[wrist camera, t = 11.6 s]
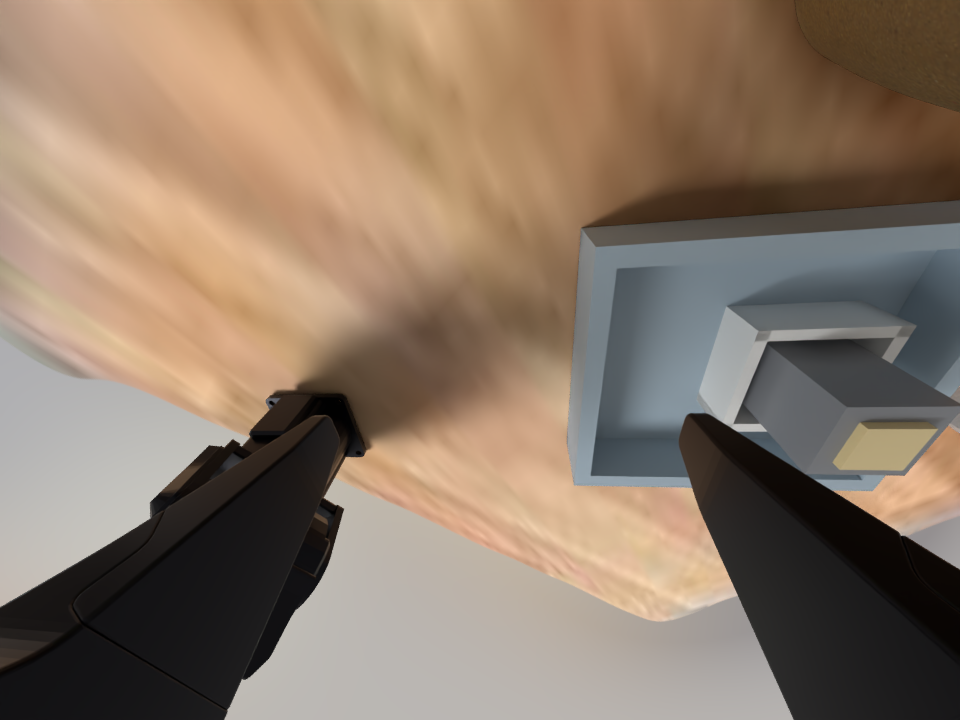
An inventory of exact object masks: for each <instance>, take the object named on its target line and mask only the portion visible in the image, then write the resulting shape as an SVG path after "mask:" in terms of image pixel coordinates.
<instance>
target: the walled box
mask: <svg viewBox="0 0 960 720" xmlns="http://www.w3.org/2000/svg"><path fill="white" fill-rule="evenodd" d="M837 301H864V302H866V303H868V304H870V305H872V306H875V307H877V308H879V309H881V310H884V311H886V312H888V313H890V314H892V315H895V316H897V317H899V318H901V319H904V320H906V321H908V322H910V323H912V324H915V325H917V326H916V328H915V329H914V331H913V332H912V334H911V335H910V337H909V339H908V340H907V342H906V343H905V345H904V346H903V348H902V349H901V351H900V352H899V354H898V355H897V357H896V358H895V360H894V361H893V363H892V364H893V365H895V366H896V367H898V368H900V369H902V370H903V371H905V372H907V373H908V374H910V375H912V376H914V377H915V378H917V379H919V380H921V381H922V382H924V383H926V384H927V385H929V386H931V387H933V388H934V389H936V390H938V391H939V392H941V393H943V394H945V395H946V396H948V397H951V396H952V395H953V393H954V392H955V391H956V390H957V389H958V387H959V386H960V200H957V201H943V202H929V203H916V204H902V205H888V206H875V207H861V208H847V209H834V210H820V211H806V212H793V213H779V214H766V215H752V216H738V217H725V218H711V219H697V220H684V221H670V222H656V223H643V224H629V225H615V226H602V227H588V228H581V236H580V251H579V267H578V282H577V297H576V312H575V327H574V342H573V357H572V372H571V387H570V402H569V417H568V432H567V446H568V452H569V458H570V464H571V470H572V476H573V481H574V485H582V486H634V487H686V488H692V486H691V483H690V479H689V476H688V473H687V470H686V467H685V464H684V461H683V458H682V455H681V451H680V448H679V436H680V432H681V429H682V426H683V423H684V420H685V417H686V415H687V414H689V413H706V412H705V411H704V410H703V408H702V407H701V405H700V404H699V403H698V401H697V400H696V399H697V396H698V393H699V390H700V386H701V383H702V380H703V377H704V374H705V371H706V368H707V365H708V362H709V358H710V355H711V352H712V349H713V346H714V343H715V340H716V337H717V334H718V330H719V327H720V324H721V321H722V318H723V315H724V312H725V309H726V306H744V305H768V304H791V303H814V302H837ZM739 433H740V434H742V435H744V436H745V437H747V438H748V439H750V440H752V441H753V442H755V443H756V444H758V445H760V446H761V447H763V448H765V449H766V450H768V451H769V452H771V453H773V454H774V455H776V456H777V457H779V458H781V459H782V460H784V461H785V462H787V463H789V464H790V465H792V466H793V467H795V468H797V469H798V470H800V471H801V472H802V470H801V469H800V468H799V467H798V466H797V465H796V464H795V462H794V461H793V460H792V459H791V458H790V457H789V456H788V454H787V453H786V452H785V451H784V450H783V449H782V448H781V446H780V445H779V444H778V443H777V442H776V441H775V440H774V438H773V437H772V436H771V435H770V434H769V433H768V432H739ZM806 475H808V476H809V477H811V478H813V479H814V480H816V481H818V482H819V483H821V484H822V485H824V486H826V487H827V488H829V489H830V490H842V491H873V490H874V489H875V488H876V486H877V485H878V484H879V483H880V482H881V480H882V479H883V478H884V477H885V475H827V474H806Z"/></svg>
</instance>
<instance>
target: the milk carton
mask: <svg viewBox="0 0 960 720" xmlns="http://www.w3.org/2000/svg"><path fill="white" fill-rule="evenodd" d="M950 398H951V399H953V400H955V401H957V402H958V403H960V387H959V388H958V389H957V390H956V391H955V392H954V393H953V395H952V396H951V397H950ZM949 426H950V427H951V428H952V429H954V430H955V431H957V432H958V433H960V413H959V414H958V415H957V416H956V417H955V418H954V419H953V421H952V422H951V423H950V424H949Z"/></svg>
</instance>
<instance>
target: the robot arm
mask: <svg viewBox="0 0 960 720" xmlns="http://www.w3.org/2000/svg"><path fill="white" fill-rule="evenodd" d="M338 400H340V401H341V402H340V401H338ZM266 404H267V406H268V407H269V409H270V410H269V411H268V412H267V413H266V414H265V416H264V417H263V418H262V419H261V420H260V421H259V422H258V423H257V424H256V425H255V426H254V427H253V428H252V429H251V431H250V433H249V435H250V436H251V437H250V438H249V440H247V442H246V443H245V444H244V445H243V446H242V447H241V446H240V443H238V442H236V441H235V440H231V441H230V442H229V443H228V444H227V445H226V446H225V447H222V446H220V447H219V446H210V445H209V446H208V447H207V448H206V449H205V450H204V451H203V452H202V453H201V454H200V455H199V456H198V457H197V458H196V459H195V460H194V461H193V462H192V463H191V464H190V465H189V466H188V467H187V468H186V469H185V470H184V471H182V472H181V473H180V474H179V475H178V476H177V477H176V478H175V479H174V480H173V481H172V482H171V483H170V484H169V485H168V486H167V487H165V489H163V490H162V491H161V492H160V493H159V494H158V495H157V496H156V497H155V498H154V499H153V500H152V501H151V502H150V519H149V520H147V521H146V522H144V523H143V524H141V525H139V526H138V527H137V528H135V529H133V530H131V531H130V532H128V533H126V534H125V535H124V536H122V537H120V538H119V539H117V540H115V541H114V542H112V543H110V544H108V545H107V546H105V547H103V548H102V549H100V550H98V551H97V552H95V553H93V554H91V555H90V556H88V557H86V558H85V559H83V560H81V561H79V562H78V563H76V564H74V565H73V566H71V567H69V568H67V569H66V570H64V571H62V572H61V573H59V574H57V575H55V576H54V577H52V578H50V579H48V580H47V581H45V582H43V583H41V584H40V585H38V586H36V587H35V588H33V589H31V590H29V591H27V592H26V593H24V594H22V595H20V596H19V597H17V598H15V599H14V600H12V601H10V602H8V603H7V604H5V605H3V606H1V607H0V720H224V719H225V717H226V714H227V709H228V708H229V707H230V705H231V703H232V700H233V698H234V696H235V694H236V691H237V689H238V687H239V685H240V682H241V680H242V679H243V680H245V679H247V678H248V677H250V676H251V675H253V674H254V672H256V671H257V670H258V669H259V668H260V667H261V666H262V665H263V664H264V663H265V662H266V661H267V660H268V659H269V658H270V656H271V655H272V653H273V651H274V649H275V647H276V645H277V643H278V641H279V639H280V637H281V635H282V633H283V631H284V629H285V627H286V626H287V624H288V622H289V620H290V618H291V616H292V615H293V613H294V611H295V610H296V609H298V608H299V607H300V606H301V605H302V604H303V603H304V602H305V601H306V600H307V598H308V597H309V596H310V595H311V593H312V592H313V591H314V589H315V588H316V586H317V585H318V583H319V581H320V580H321V578H322V576H323V574H324V572H325V570H326V568H327V566H328V563H329V560H330V557H331V554H332V550H333V546H334V543H335V539H336V535H337V532H338V528H339V525H340V521H341V518H342V514H343V511H344V509H343V508H342V507H340V506H339V505H334V504H333V503H331V502H330V501H328V500H326V499H325V498H324V496H325V494H326V492H327V491H328V489H329V487H330V485H331V483H332V482H333V480H334V478H335V476H336V474H337V472H338V471H339V469H340V467H341V465H342V463H343V461H344V460H345V458H346V457H363V456H364V454H365V452H366V448H365V446H364V443H363V440H362V438H361V435H360V432H359V430H358V427H357V425H356V422H355V419H354V417H353V414H352V412H351V409H350V406H349V404H348V401H347V399H346V397H345V396H344V395H341V394H298V395H270V396H269V397H268V398H267V399H266ZM679 448H680V451H681V455H682V458H683V461H684V464H685V467H686V470H687V473H688V476H689V479H690V483H691V486H692V489H693V492H694V495H695V498H696V501H697V504H698V507H699V509H700V512H701V514H702V516H703V519H704V521H705V523H706V525H707V528H708V530H709V532H710V534H711V537H712V539H713V541H714V543H715V546H716V548H717V550H718V552H719V554H720V557H721V559H722V561H723V563H724V566H725V568H726V570H727V572H728V574H729V577H730V579H731V581H732V583H733V586H734V588H735V590H736V592H737V594H738V597H739V599H740V601H741V603H742V606H743V608H744V610H745V612H746V614H747V617H748V619H749V621H750V623H751V626H752V628H753V630H754V632H755V635H756V637H757V639H758V641H759V643H760V646H761V648H762V650H763V652H764V655H765V657H766V659H767V661H768V663H769V666H770V668H771V670H772V672H773V674H774V677H775V679H776V681H777V683H778V685H779V688H780V690H781V692H782V695H783V697H784V699H785V701H786V703H787V706H788V708H789V710H790V712H791V715H792V717H793V719H794V720H960V569H958V568H956V567H955V566H953V565H951V564H950V563H948V562H946V561H945V560H943V559H942V558H940V557H938V556H937V555H935V554H933V553H932V552H930V551H929V550H927V549H925V548H924V547H922V546H920V545H919V544H917V543H916V542H914V541H913V540H911V539H909V538H908V537H906V536H901V535H900V533H899V532H898V531H896V530H895V529H893V528H891V527H890V526H888V525H887V524H885V523H883V522H882V521H880V520H879V519H877V518H875V517H874V516H872V515H871V514H869V513H867V512H866V511H864V510H863V509H861V508H859V507H858V506H856V505H854V504H853V503H851V502H850V501H848V500H846V499H845V498H843V497H842V496H840V495H838V494H837V493H835V492H834V491H832V490H830V489H829V488H827V487H826V486H824V485H822V484H821V483H819V482H818V481H816V480H814V479H813V478H811V477H809V476H808V475H806V474H805V473H803V472H801V471H800V470H798V469H797V468H795V467H793V466H792V465H790V464H789V463H787V462H785V461H784V460H782V459H781V458H779V457H777V456H776V455H774V454H773V453H771V452H769V451H768V450H766V449H765V448H763V447H761V446H760V445H758V444H756V443H755V442H753V441H752V440H750V439H748V438H747V437H745V436H744V435H742V434H740V433H739V432H737V431H736V430H734V429H732V428H731V427H729V426H728V425H726V424H724V423H723V422H721V421H720V420H718V419H716V418H715V417H713V416H711V415H710V414H707V413H689V414H687V415H686V417H685V420H684V423H683V426H682V429H681V432H680V436H679Z"/></svg>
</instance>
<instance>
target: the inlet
mask: <svg viewBox="0 0 960 720" xmlns="http://www.w3.org/2000/svg"><path fill="white" fill-rule="evenodd" d="M916 326H917V325H915V324H912V323H910V322H908V321H906V320H904V319H901V318H899V317H897V316H895V315H892V314H890V313H888V312H886V311H884V310H881V309H879V308H877V307H875V306H872V305H870V304H868V303H866V302H864V301H837V302H814V303H791V304H768V305H744V306H726V309H725V312H724V315H723V318H722V321H721V324H720V327H719V330H718V334H717V337H716V340H715V343H714V346H713V349H712V352H711V355H710V358H709V362H708V365H707V368H706V371H705V374H704V377H703V380H702V383H701V386H700V390H699V393H698V396H697V399H696V400H697V401H698V403H699V404H700V405H701V407H702V408H703V410H704V411H705V412H706V413H707V414H710V415H711V416H713V417H715V418H716V419H718V420H720V421H721V422H723V423H724V424H726V425H728V426H729V427H731V428H732V429H734V430H736V431H737V432H767V430H766V429H765V428H764V427H763V426H762V425H761V424H760V422H759V421H758V420H757V419H756V418H755V417H754V416H753V414H752V413H751V412H750V411H749V410H748V409H747V408H746V407H745V405H744V404H743V403H742V402H743V399H744V397H745V394H746V392H747V389H748V387H749V385H750V382H751V380H752V377H753V375H754V373H755V370H756V368H757V365H758V363H759V361H760V358H761V356H762V353H763V351H764V349H765V346H766V344H767V341H796V340H829V339H850V340H852V341H854V342H855V343H857V344H859V345H860V346H862V347H864V348H866V349H867V350H869V351H871V352H872V353H874V354H876V355H878V356H879V357H881V358H883V359H884V360H886V361H888V362H890V363H891V364H892V363H893V361H894V360H895V358H896V357H897V355H898V354H899V352H900V351H901V349H902V348H903V346H904V345H905V343H906V342H907V340H908V339H909V337H910V335H911V334H912V332H913V331H914V329H915V328H916Z"/></svg>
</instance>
